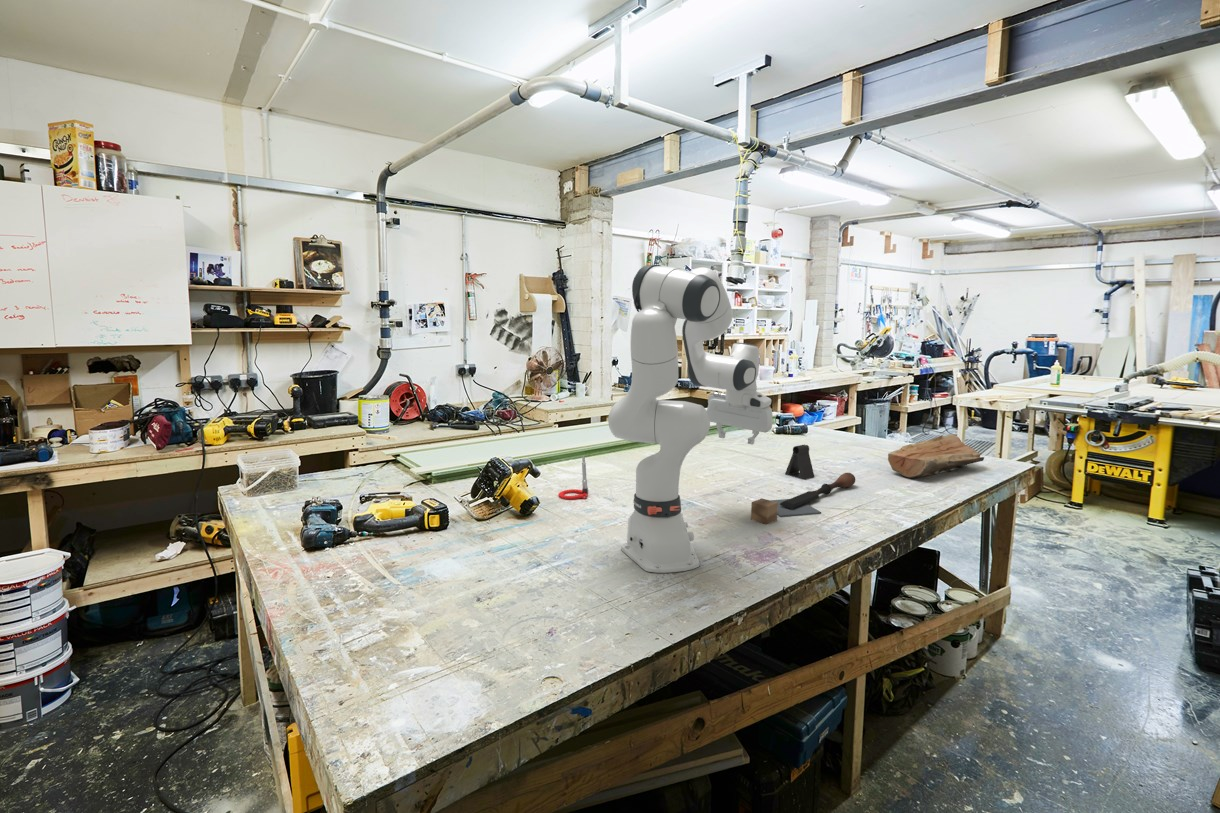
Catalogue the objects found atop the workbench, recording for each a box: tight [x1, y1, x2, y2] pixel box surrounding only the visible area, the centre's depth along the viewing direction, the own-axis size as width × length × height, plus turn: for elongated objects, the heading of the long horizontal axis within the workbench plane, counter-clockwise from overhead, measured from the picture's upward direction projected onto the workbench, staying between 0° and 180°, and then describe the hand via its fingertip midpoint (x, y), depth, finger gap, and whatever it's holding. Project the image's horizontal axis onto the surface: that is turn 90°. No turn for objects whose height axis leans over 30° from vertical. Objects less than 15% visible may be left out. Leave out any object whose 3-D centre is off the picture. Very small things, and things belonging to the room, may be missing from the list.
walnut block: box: [750, 497, 778, 525], centre depth 169 cm, size 6×6×6 cm
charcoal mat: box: [770, 498, 822, 518], centre depth 180 cm, size 14×14×1 cm
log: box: [887, 433, 985, 479], centre depth 224 cm, size 42×17×15 cm, turn 117°
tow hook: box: [558, 455, 589, 500], centre depth 191 cm, size 9×14×10 cm
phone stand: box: [784, 444, 815, 481], centre depth 217 cm, size 9×6×12 cm, turn 34°
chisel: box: [780, 472, 856, 509], centre depth 192 cm, size 5×43×5 cm, turn 131°
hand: (736, 440), depth 173 cm, fingers open, 8 cm apart
